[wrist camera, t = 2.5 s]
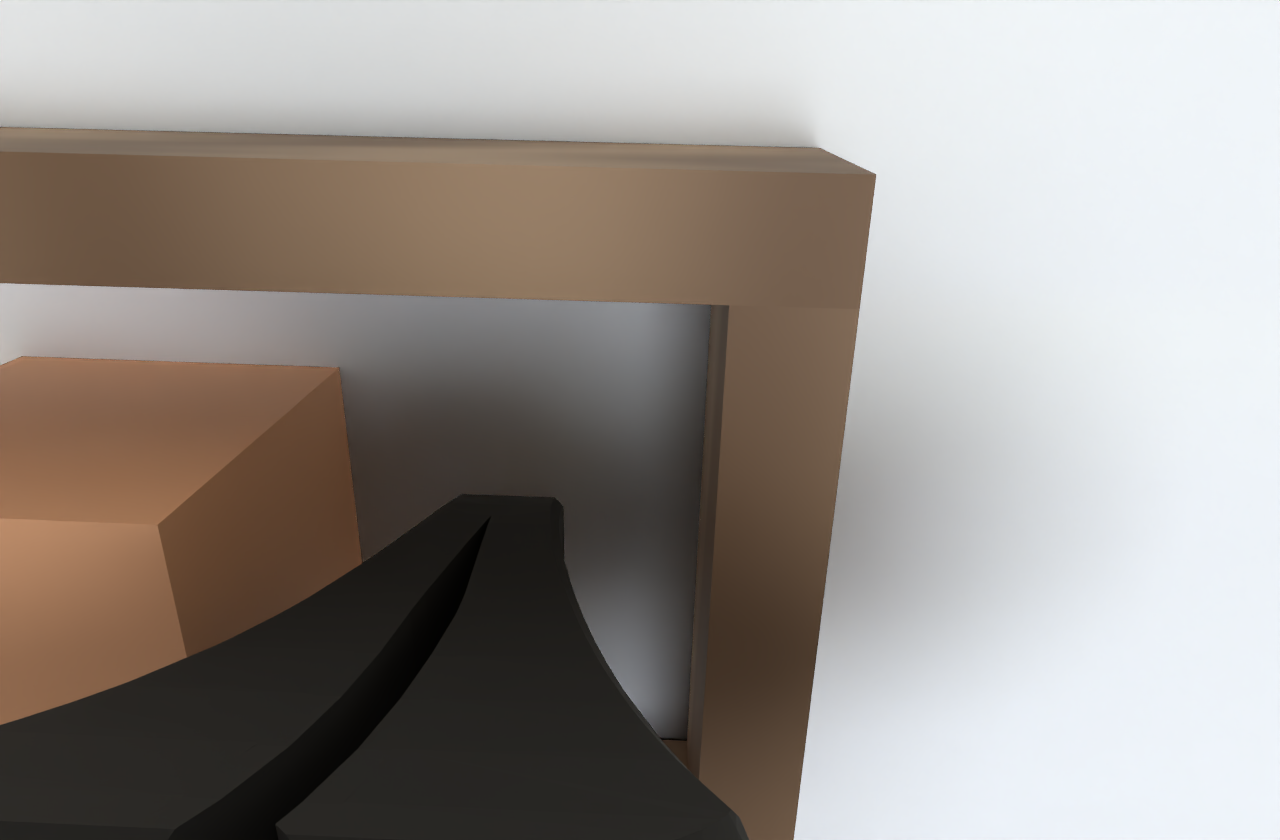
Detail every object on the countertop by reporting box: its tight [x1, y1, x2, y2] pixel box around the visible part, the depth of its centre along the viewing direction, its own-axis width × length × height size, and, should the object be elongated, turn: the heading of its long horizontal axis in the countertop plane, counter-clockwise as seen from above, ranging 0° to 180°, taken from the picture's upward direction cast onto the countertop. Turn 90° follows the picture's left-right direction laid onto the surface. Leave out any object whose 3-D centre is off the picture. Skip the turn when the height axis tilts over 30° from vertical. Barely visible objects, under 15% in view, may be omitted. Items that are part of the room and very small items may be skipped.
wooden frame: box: [0, 127, 876, 840], centre depth 11 cm, size 14×10×3 cm
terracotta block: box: [0, 356, 362, 725], centre depth 10 cm, size 4×4×4 cm
